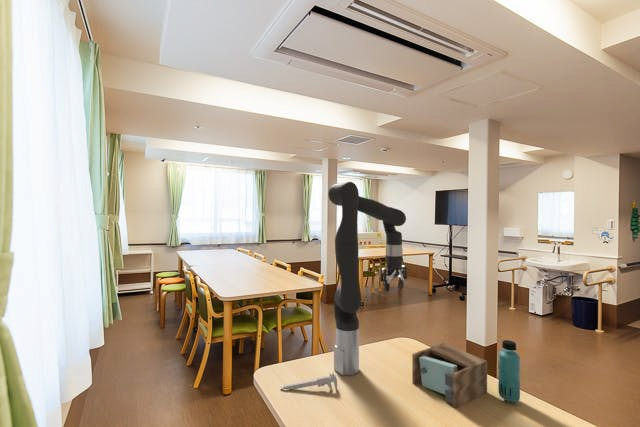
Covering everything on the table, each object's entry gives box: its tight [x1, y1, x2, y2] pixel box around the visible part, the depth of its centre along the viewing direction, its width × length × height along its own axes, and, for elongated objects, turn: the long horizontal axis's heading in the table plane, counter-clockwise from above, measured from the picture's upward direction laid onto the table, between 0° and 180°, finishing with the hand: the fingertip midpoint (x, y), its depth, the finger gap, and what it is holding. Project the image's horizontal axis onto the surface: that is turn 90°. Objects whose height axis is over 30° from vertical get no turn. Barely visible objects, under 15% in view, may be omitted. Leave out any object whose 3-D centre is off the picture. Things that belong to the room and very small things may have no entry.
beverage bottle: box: [497, 339, 521, 403], centre depth 107 cm, size 6×7×20 cm
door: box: [419, 356, 458, 396], centre depth 112 cm, size 4×14×10 cm, turn 32°
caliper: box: [280, 372, 338, 391], centre depth 114 cm, size 20×1×6 cm, turn 90°
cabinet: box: [411, 343, 488, 409], centre depth 115 cm, size 18×18×11 cm
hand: (394, 290), depth 145 cm, fingers open, 8 cm apart
